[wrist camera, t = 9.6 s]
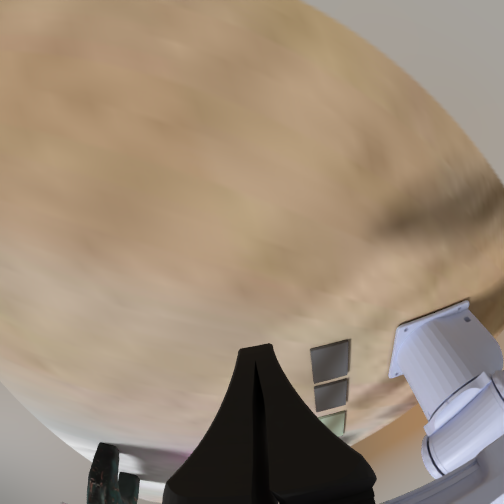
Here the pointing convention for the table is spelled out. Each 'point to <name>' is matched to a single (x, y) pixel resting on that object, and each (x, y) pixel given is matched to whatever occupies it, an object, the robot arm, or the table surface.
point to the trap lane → (332, 394)
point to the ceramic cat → (110, 479)
